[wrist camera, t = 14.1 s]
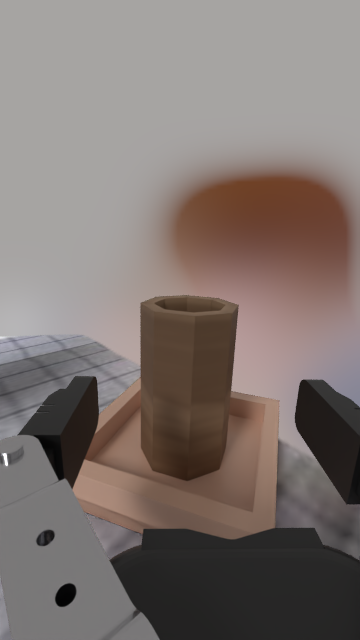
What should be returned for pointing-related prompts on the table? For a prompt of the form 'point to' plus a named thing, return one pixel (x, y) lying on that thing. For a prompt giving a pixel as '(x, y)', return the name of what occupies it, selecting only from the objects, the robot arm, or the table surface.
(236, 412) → the tray
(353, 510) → the table surface
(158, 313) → the octagonal pencil holder
